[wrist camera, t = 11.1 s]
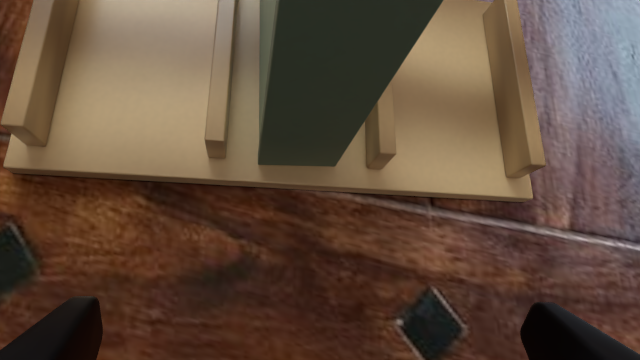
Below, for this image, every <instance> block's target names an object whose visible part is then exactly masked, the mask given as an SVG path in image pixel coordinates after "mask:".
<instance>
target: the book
mask: <svg viewBox="0 0 640 360" xmlns="http://www.w3.org/2000/svg"><path fill="white" fill-rule="evenodd" d="M442 2H443V0H260V60H259V148H258V164H259V165H292V166H331V167H335V166H336V164H337V163H338V161H339V160H340V158H341V157H342V155H343V154H344V152H345V151H346V149H347V148H348V146H349V145H350V143H351V142H352V140H353V138H354V137H355V135H356V134H357V132H358V131H359V129H360V128H361V126H362V125H363V123H364V122H365V120H366V119H367V117H368V115H369V114H370V112H371V111H372V109H373V108H374V106H375V105H376V103H377V102H378V100H379V99H380V97H381V96H382V94H383V92H384V91H385V89H386V88H387V86H388V85H389V83H390V82H391V80H392V79H393V77H394V76H395V74H396V73H397V71H398V69H399V68H400V66H401V65H402V63H403V62H404V60H405V59H406V57H407V56H408V54H409V53H410V51H411V50H412V48H413V46H414V45H415V43H416V42H417V40H418V39H419V37H420V36H421V34H422V33H423V31H424V30H425V28H426V27H427V25H428V24H429V22H430V20H431V19H432V17H433V16H434V14H435V13H436V11H437V10H438V8H439V7H440V5H441V4H442Z"/></svg>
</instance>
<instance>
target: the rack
mask: <svg viewBox="0 0 640 360" xmlns="http://www.w3.org/2000/svg"><path fill="white" fill-rule="evenodd" d="M259 60H260V0H34V1H33V5H32V8H31V12H30V16H29V20H28V23H27V27H26V31H25V35H24V38H23V42H22V46H21V49H20V53H19V57H18V61H17V64H16V68H15V72H14V76H13V79H12V83H11V87H10V91H9V94H8V98H7V102H6V105H5V109H4V113H3V117H2V120H1V125H2V126H3V127H4V128H5V129H7V130H8V131H9V132H10V133H12V134H11V138H10V142H9V146H8V150H7V154H6V158H5V162H4V165H3V166H4V168H5V169H7V170H9V171H10V172H12V173H19V174H36V175H54V176H71V177H89V178H107V179H124V180H142V181H159V182H177V183H194V184H212V185H229V186H247V187H265V188H282V189H300V190H317V191H335V192H352V193H370V194H388V195H405V196H423V197H440V198H458V199H475V200H493V201H511V202H525V201H528V200H530V199H533V193H532V187H531V181H530V175H529V174H530V173H532V172H534V171H536V170H538V169H540V168H542V167H544V166H546V162H545V156H544V151H543V145H542V139H541V134H540V128H539V122H538V117H537V111H536V105H535V100H534V94H533V88H532V83H531V77H530V71H529V66H528V60H527V54H526V49H525V43H524V37H523V32H522V26H521V20H520V15H519V9H518V3H517V0H494V1H493V3H490V2H483V1H476V0H443V2H442V4H441V5H440V7H439V8H438V10H437V11H436V13H435V14H434V16H433V17H432V19H431V20H430V22H429V24H428V25H427V27H426V28H425V30H424V31H423V33H422V34H421V36H420V37H419V39H418V40H417V42H416V43H415V45H414V46H413V48H412V50H411V51H410V53H409V54H408V56H407V57H406V59H405V60H404V62H403V63H402V65H401V66H400V68H399V69H398V71H397V73H396V74H395V76H394V77H393V79H392V80H391V82H390V83H389V85H388V86H387V88H386V89H385V91H384V92H383V94H382V96H381V97H380V99H379V100H378V102H377V103H376V105H375V106H374V108H373V109H372V111H371V112H370V114H369V115H368V117H367V119H366V120H365V122H364V123H363V125H362V126H361V128H360V129H359V131H358V132H357V134H356V135H355V137H354V138H353V140H352V142H351V143H350V145H349V146H348V148H347V149H346V151H345V152H344V154H343V155H342V157H341V158H340V160H339V161H338V163H337V164H336V166H335V167H331V166H292V165H259V164H258V148H259Z"/></svg>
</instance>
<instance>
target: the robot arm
mask: <svg viewBox="0 0 640 360" xmlns="http://www.w3.org/2000/svg"><path fill="white" fill-rule="evenodd" d="M102 334H103V327H102V320H101V312H100V305H99V301H98V299H97V298H96V297H93V296H75V297H72V298H70V299H68V300H67V301H66V302H64V303H63V304H62V305H60V306H59V307H58V308H56V309H55V310H53V311H52V312H51V313H49V314H48V315H47V316H45V317H44V318H43V319H41V320H40V321H39V322H37V323H36V324H35V325H33V326H32V327H31V328H29V329H28V330H27V331H25V332H24V333H23V334H21V335H20V336H19V337H17V338H16V339H15V340H13V341H12V342H11V343H9V344H8V345H7V346H5V347H4V348H3V349H1V350H0V360H96V358H97V355H98V351H99V348H100V344H101V341H102ZM520 335H521V340H522V343H523V345H524V348H525V350H526V353H527V355H528V357H529V360H640V354H638V353H636V352H635V351H633V350H631V349H630V348H628V347H626V346H625V345H623V344H621V343H620V342H618V341H616V340H615V339H613V338H612V337H610V336H608V335H607V334H605V333H603V332H602V331H600V330H598V329H597V328H595V327H593V326H592V325H590V324H588V323H587V322H585V321H584V320H582V319H580V318H579V317H577V316H575V315H574V314H572V313H570V312H569V311H567V310H565V309H564V308H562V307H560V306H559V305H557V304H555V303H552V302H536V303H534V304H533V305H532V306H531V308H530V310H529V312H528V314H527V317H526V319H525V321H524V323H523V325H522V327H521V331H520Z"/></svg>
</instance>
